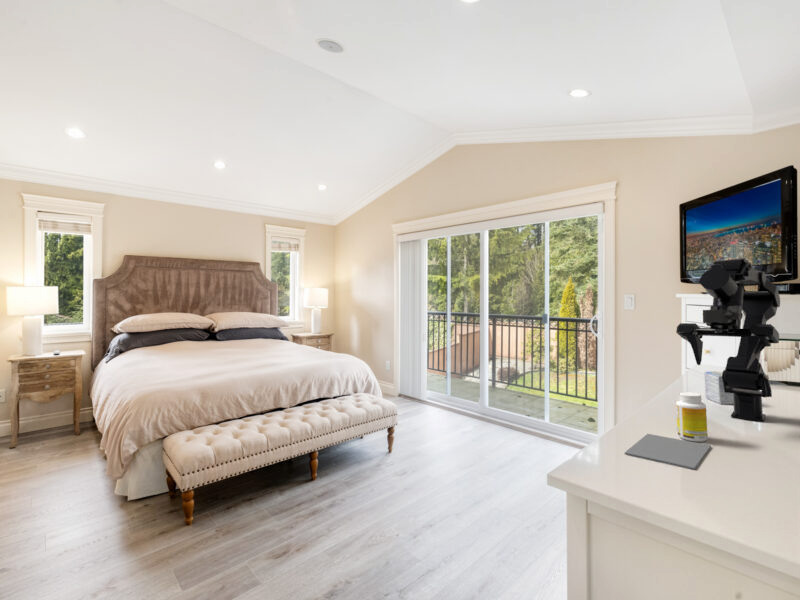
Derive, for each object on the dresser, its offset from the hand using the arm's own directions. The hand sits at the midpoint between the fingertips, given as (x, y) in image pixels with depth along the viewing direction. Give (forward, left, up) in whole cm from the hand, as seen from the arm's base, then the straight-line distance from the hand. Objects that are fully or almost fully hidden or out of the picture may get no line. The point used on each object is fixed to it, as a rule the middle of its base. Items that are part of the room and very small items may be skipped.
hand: (721, 366), depth 95 cm
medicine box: (-34, -5, -16) cm, 38 cm away
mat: (+22, -6, -16) cm, 27 cm away
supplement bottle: (+10, -4, -16) cm, 19 cm away
